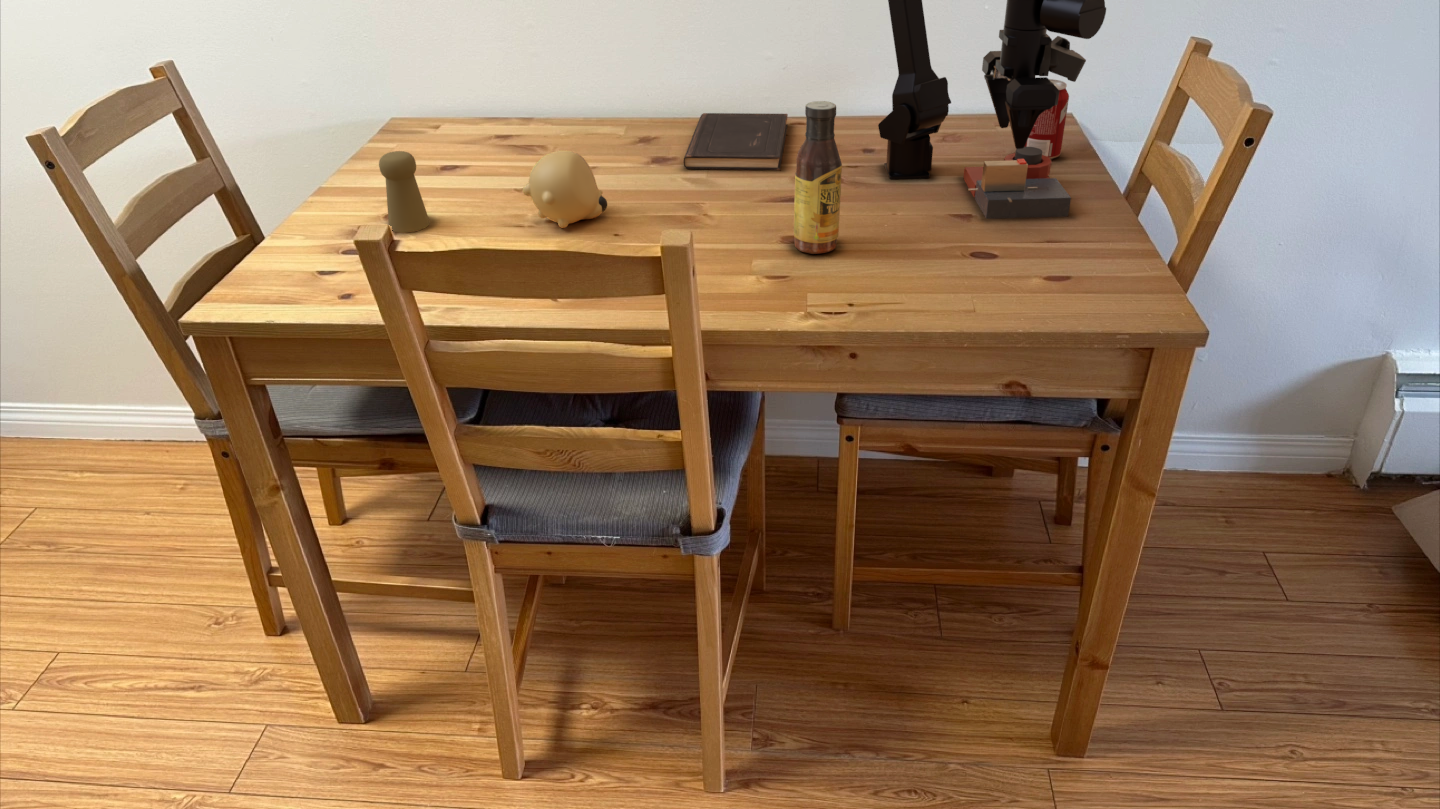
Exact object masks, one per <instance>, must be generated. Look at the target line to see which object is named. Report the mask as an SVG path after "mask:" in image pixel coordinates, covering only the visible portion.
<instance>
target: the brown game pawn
mask: <svg viewBox="0 0 1440 809" xmlns="http://www.w3.org/2000/svg"><path fill="white" fill-rule="evenodd" d="M378 168H379V172H380V173H381V174H380V175H381V176H383V178H385V193H386V205H387V207H386V208H387V222H388V226H389V225H390V226H392V229H393V231H392V232H393V233H399V234H408V233H415V232H418V231H422V230H424V229H426V228H427V227H428V226H430V224H431V222H430V219H429V218H430V217H429V216H428V212H427V210H426V206H425V203H424V201H423V197H422V194H421V191H420V188H419V185H418V182H417V179H416V176H415V173H416V171H417V162H416V159H415V157H414V156H413V154H412V153H410V152H408V151H405V150H396V151H389V152H386V153H384V154H383V155H381V157H380V158H379V161H378Z"/></svg>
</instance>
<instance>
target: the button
mask: <svg viewBox="0 0 1440 809" xmlns="http://www.w3.org/2000/svg"><path fill="white" fill-rule="evenodd" d="M1014 153H1015V159H1014V160H1017V159H1024V160H1025V161H1026V162H1027V164H1028V165H1036V164H1040V163H1041V159H1042V150H1041V149H1039V148H1035V147H1024V148H1022V149H1017V148H1015V152H1014Z"/></svg>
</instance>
